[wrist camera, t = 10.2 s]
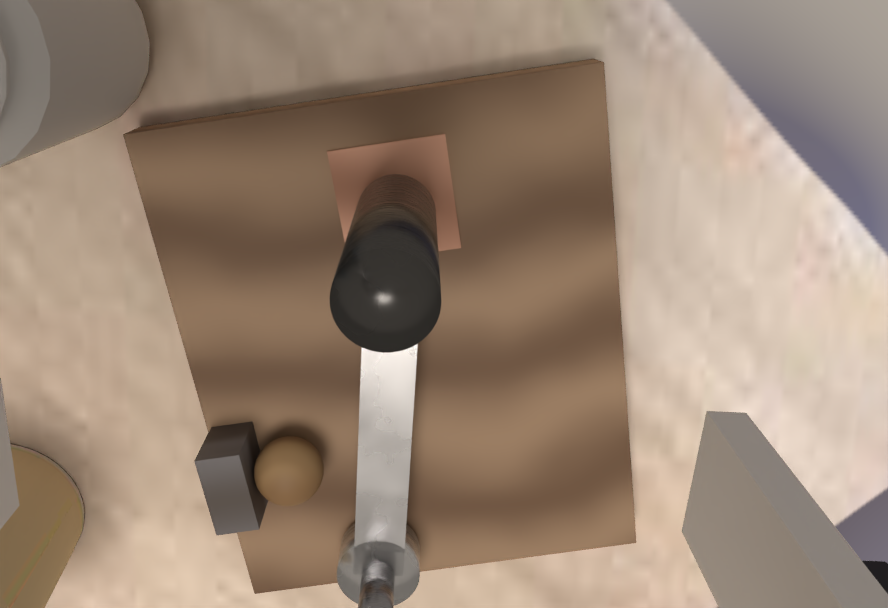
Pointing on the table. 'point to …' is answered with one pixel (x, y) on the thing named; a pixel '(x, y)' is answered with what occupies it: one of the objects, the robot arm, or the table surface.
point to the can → (66, 69)
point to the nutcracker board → (440, 353)
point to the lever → (386, 376)
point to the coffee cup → (38, 530)
